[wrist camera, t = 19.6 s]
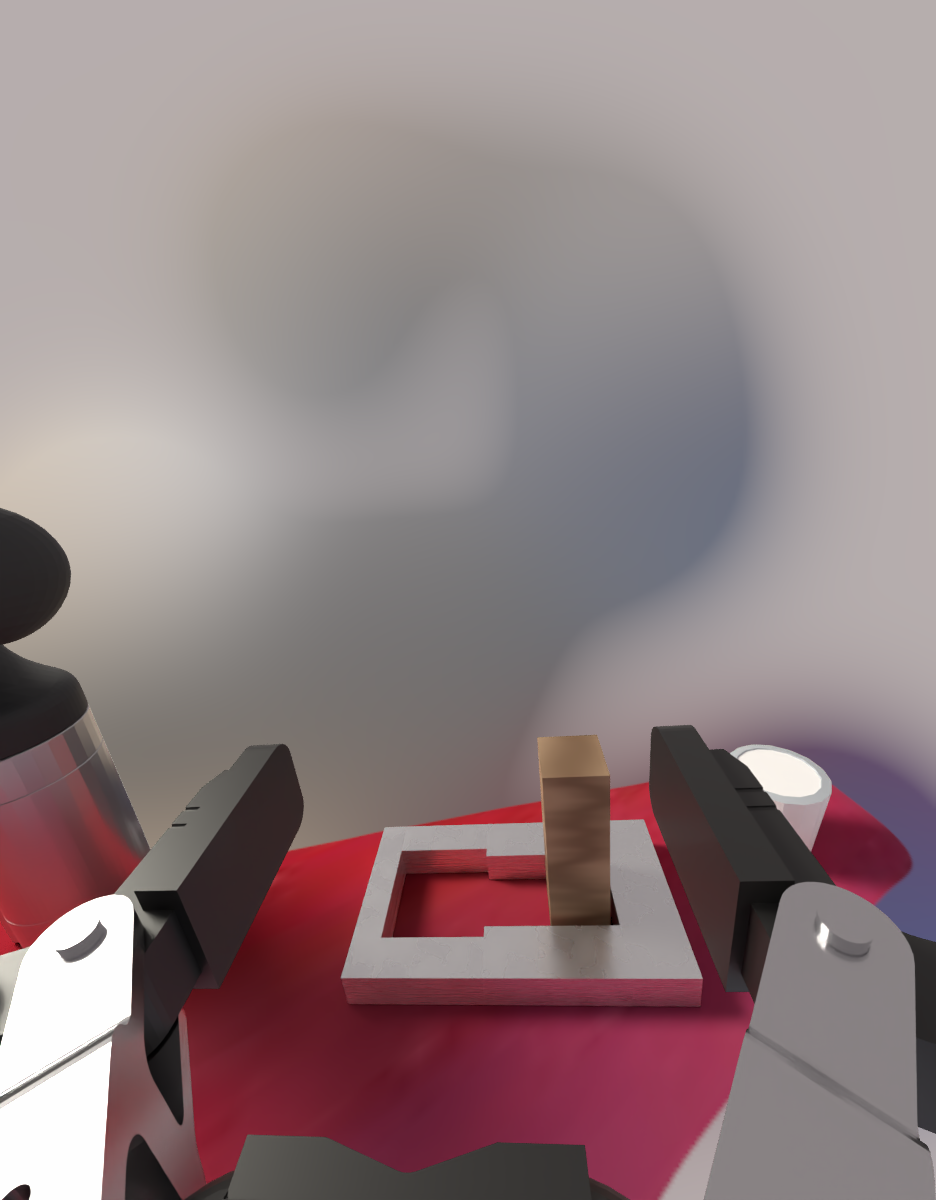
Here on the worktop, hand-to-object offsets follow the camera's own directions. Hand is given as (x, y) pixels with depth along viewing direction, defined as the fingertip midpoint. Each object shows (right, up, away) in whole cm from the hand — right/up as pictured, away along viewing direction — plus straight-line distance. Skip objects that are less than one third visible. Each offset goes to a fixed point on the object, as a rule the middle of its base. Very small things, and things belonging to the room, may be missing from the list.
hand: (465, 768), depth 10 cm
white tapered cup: (+25, -16, +28) cm, 41 cm away
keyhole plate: (+4, -20, +25) cm, 32 cm away
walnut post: (+8, -19, +24) cm, 32 cm away
